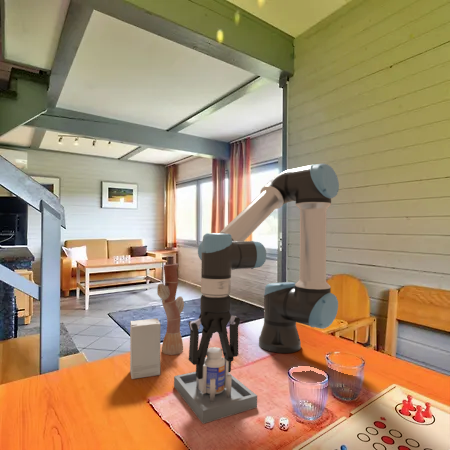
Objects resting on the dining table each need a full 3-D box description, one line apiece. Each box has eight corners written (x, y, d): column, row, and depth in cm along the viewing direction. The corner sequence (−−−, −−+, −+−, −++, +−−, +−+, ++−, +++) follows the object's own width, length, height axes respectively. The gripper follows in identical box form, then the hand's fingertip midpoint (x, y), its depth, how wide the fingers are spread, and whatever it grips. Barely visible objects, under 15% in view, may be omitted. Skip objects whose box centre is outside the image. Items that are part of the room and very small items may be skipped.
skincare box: (157, 367, 93) (159, 317, 93) (160, 376, 87) (162, 323, 87) (128, 371, 90) (130, 319, 90) (129, 380, 84) (131, 325, 85)
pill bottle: (222, 396, 73) (222, 355, 74) (200, 393, 74) (201, 352, 75) (226, 385, 79) (227, 347, 79) (205, 383, 80) (206, 345, 80)
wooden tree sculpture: (180, 345, 111) (182, 262, 112) (188, 352, 105) (190, 264, 106) (151, 350, 106) (154, 262, 107) (157, 357, 100) (160, 264, 101)
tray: (173, 386, 81) (174, 362, 81) (220, 375, 88) (221, 353, 88) (202, 423, 65) (203, 394, 66) (257, 407, 72) (257, 380, 72)
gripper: (187, 300, 70) (184, 404, 69) (254, 294, 79) (252, 386, 78) (175, 294, 76) (173, 389, 76) (238, 289, 85) (237, 374, 84)
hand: (213, 388), depth 77 cm, fingers closed on pill bottle, 5 cm apart
